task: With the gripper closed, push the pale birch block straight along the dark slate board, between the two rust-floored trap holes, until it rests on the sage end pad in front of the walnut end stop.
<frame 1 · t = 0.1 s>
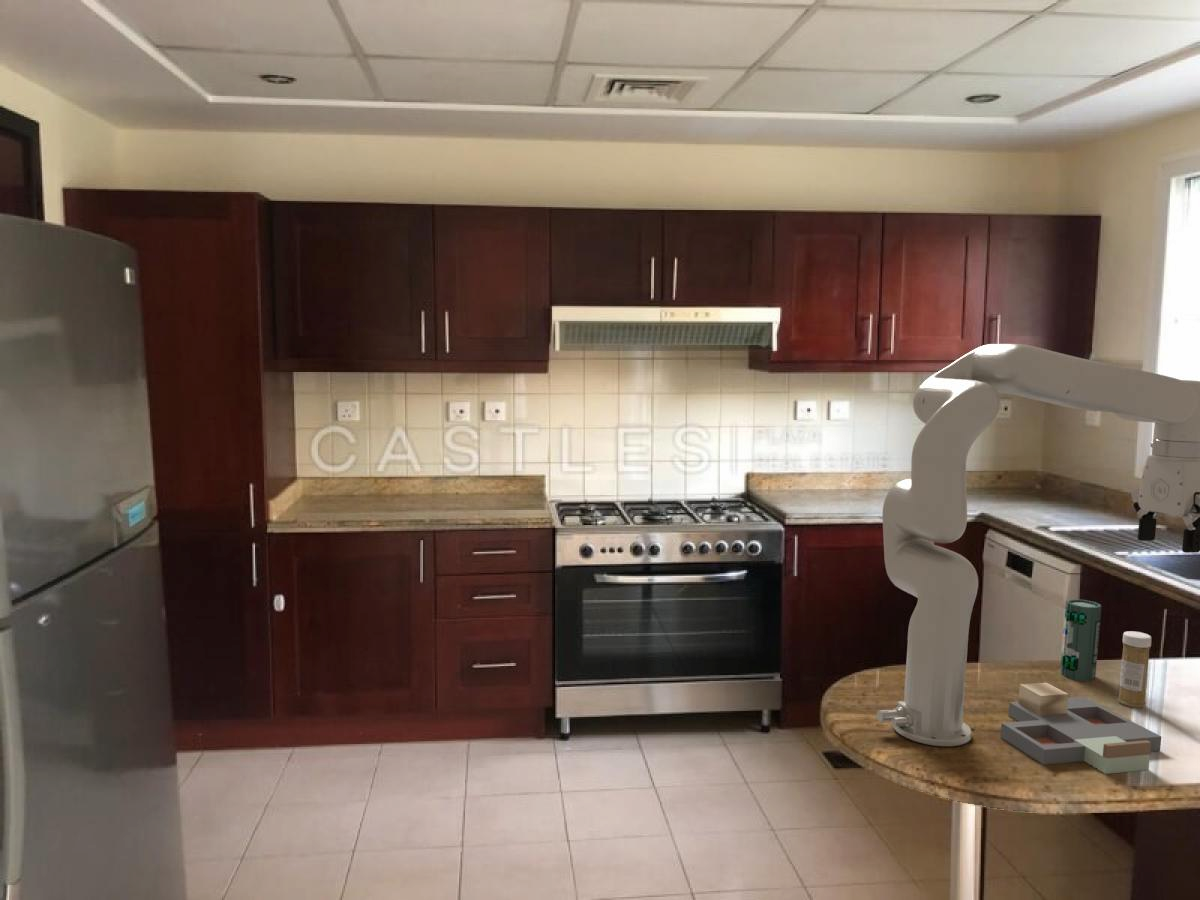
hand: (1167, 546, 164), 31 cm above the countertop, tool pointing down, fingers open, 9 cm apart
birch block: (1042, 708, 162), point 2 cm above the countertop, touching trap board
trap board: (1073, 740, 155), on the countertop
sprinkles bottle: (1131, 704, 172), on the countertop
can: (1077, 676, 187), on the countertop
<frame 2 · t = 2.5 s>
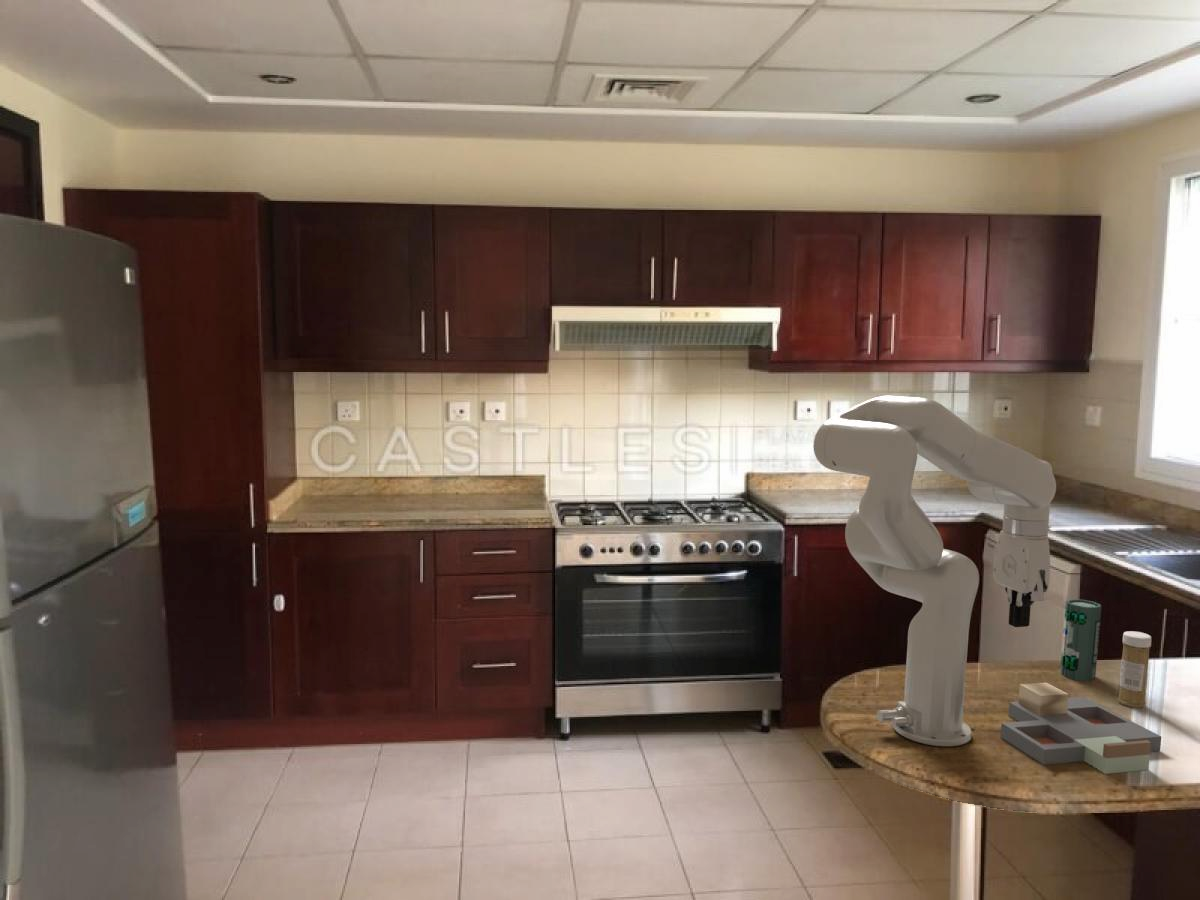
hand: (1018, 625, 169), 15 cm above the countertop, tool pointing down, fingers closed
nothing on the countertop moved.
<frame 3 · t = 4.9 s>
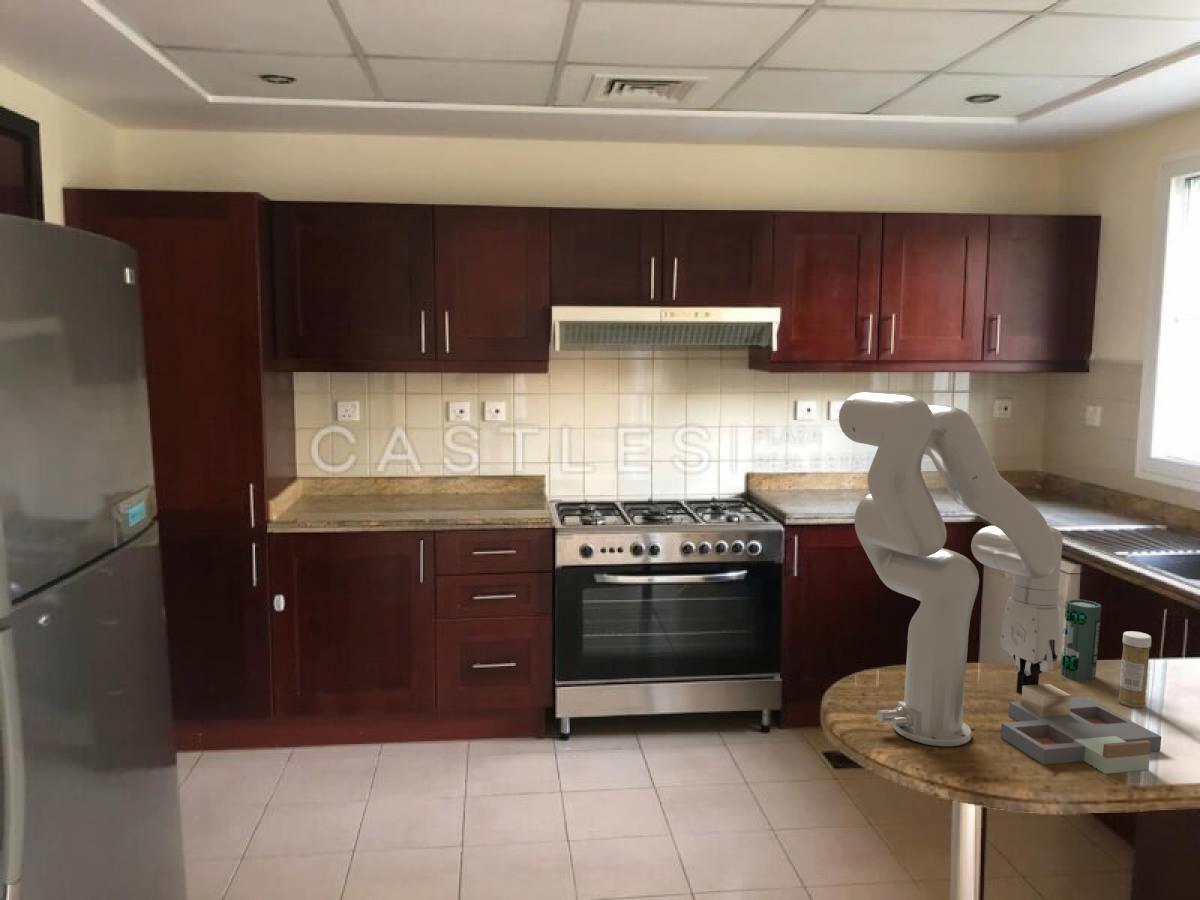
hand: (1026, 693, 166), 4 cm above the countertop, tool pointing down, fingers closed
birch block: (1045, 709, 162), point 2 cm above the countertop, touching gripper, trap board
everything else where it was.
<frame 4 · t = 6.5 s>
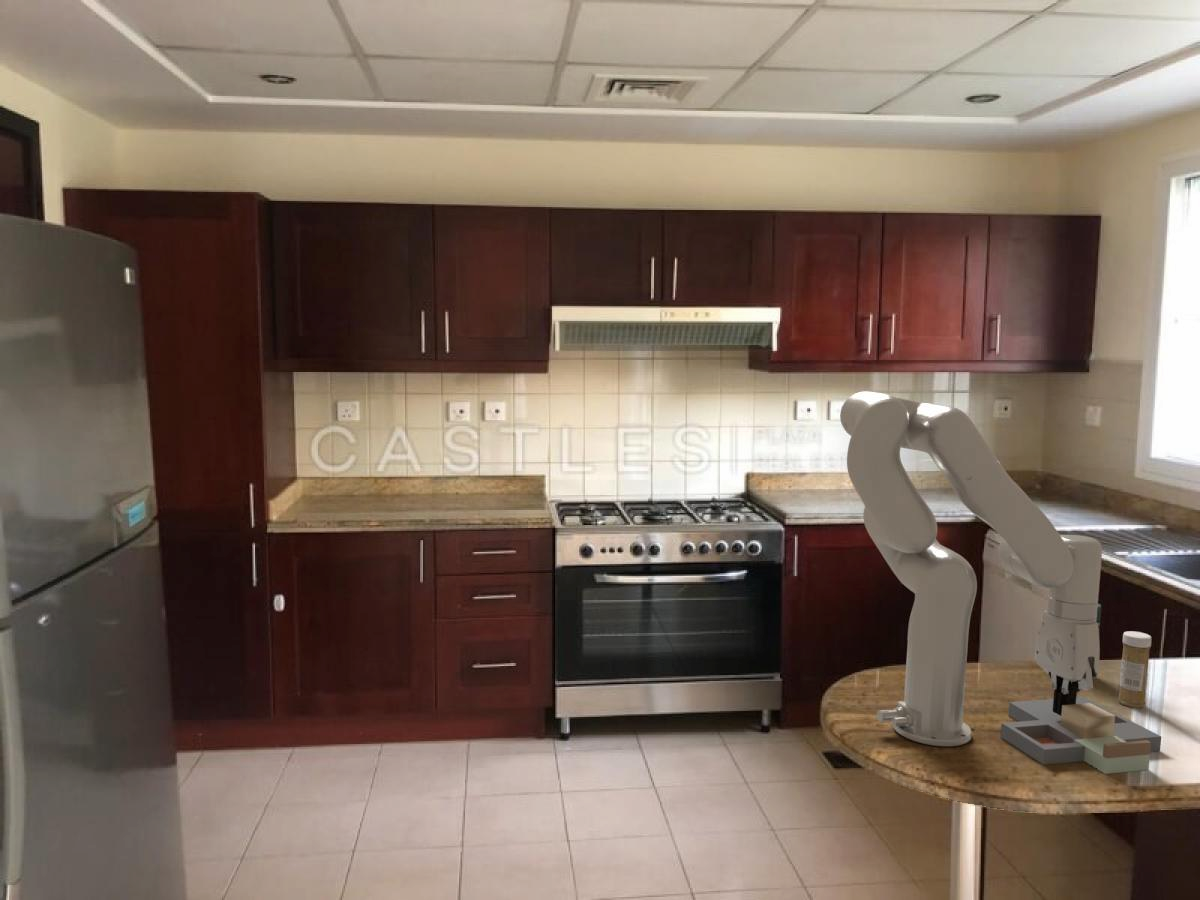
hand: (1063, 713, 157), 4 cm above the countertop, tool pointing down, fingers closed
birch block: (1086, 730, 153), point 2 cm above the countertop, touching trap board
everything else where it was.
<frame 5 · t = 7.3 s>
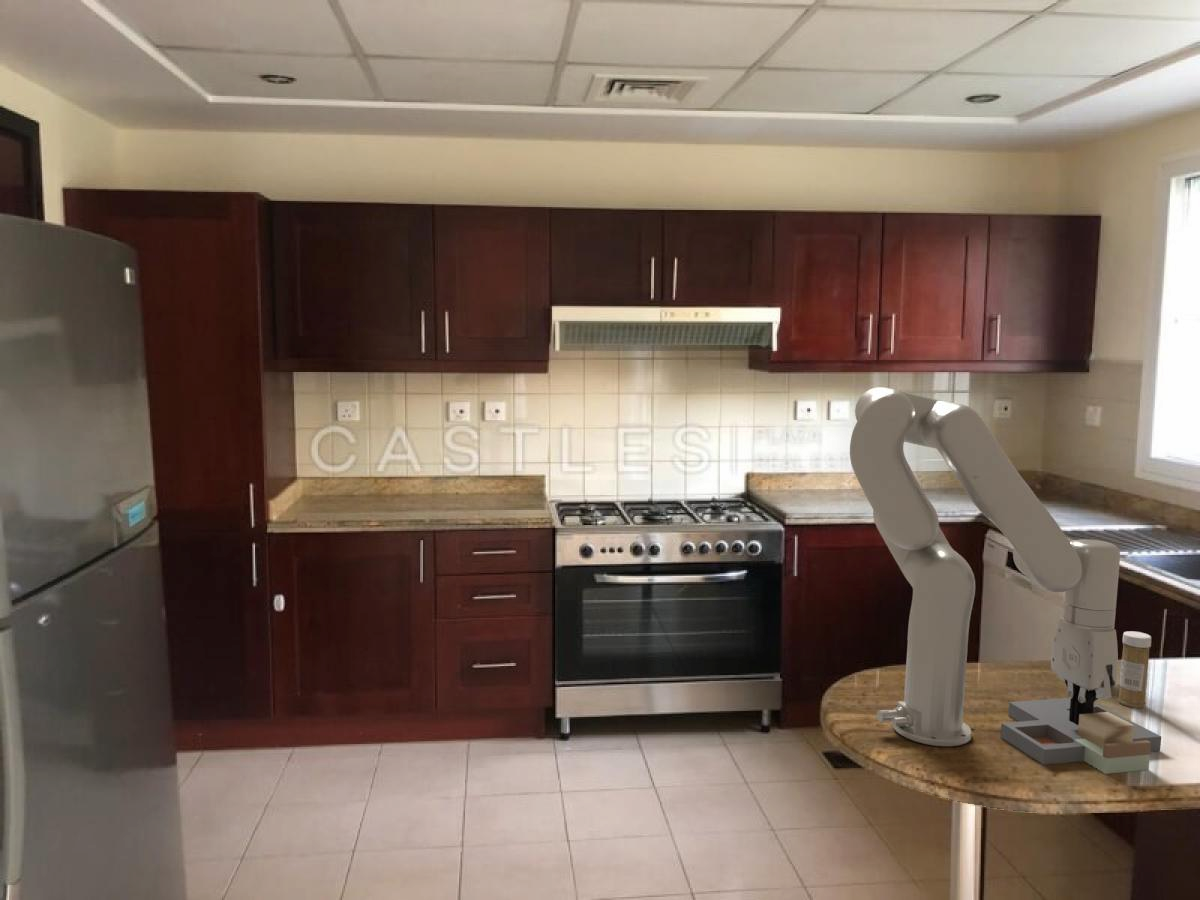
hand: (1080, 722, 154), 4 cm above the countertop, tool pointing down, fingers closed
birch block: (1104, 740, 149), point 2 cm above the countertop, touching gripper, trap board
everything else where it was.
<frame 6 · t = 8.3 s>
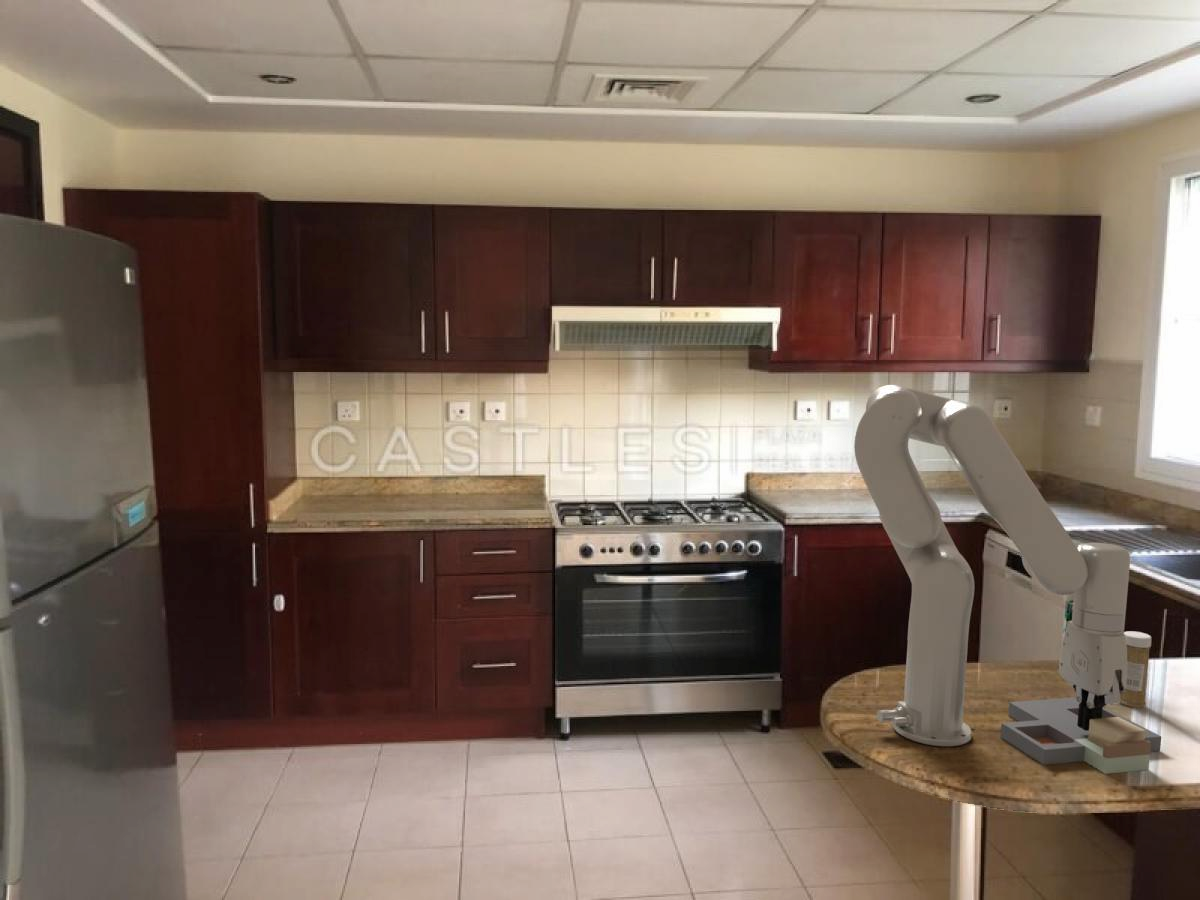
hand: (1088, 727, 152), 4 cm above the countertop, tool pointing down, fingers closed
birch block: (1115, 745, 147), point 2 cm above the countertop, touching gripper, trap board
everything else where it was.
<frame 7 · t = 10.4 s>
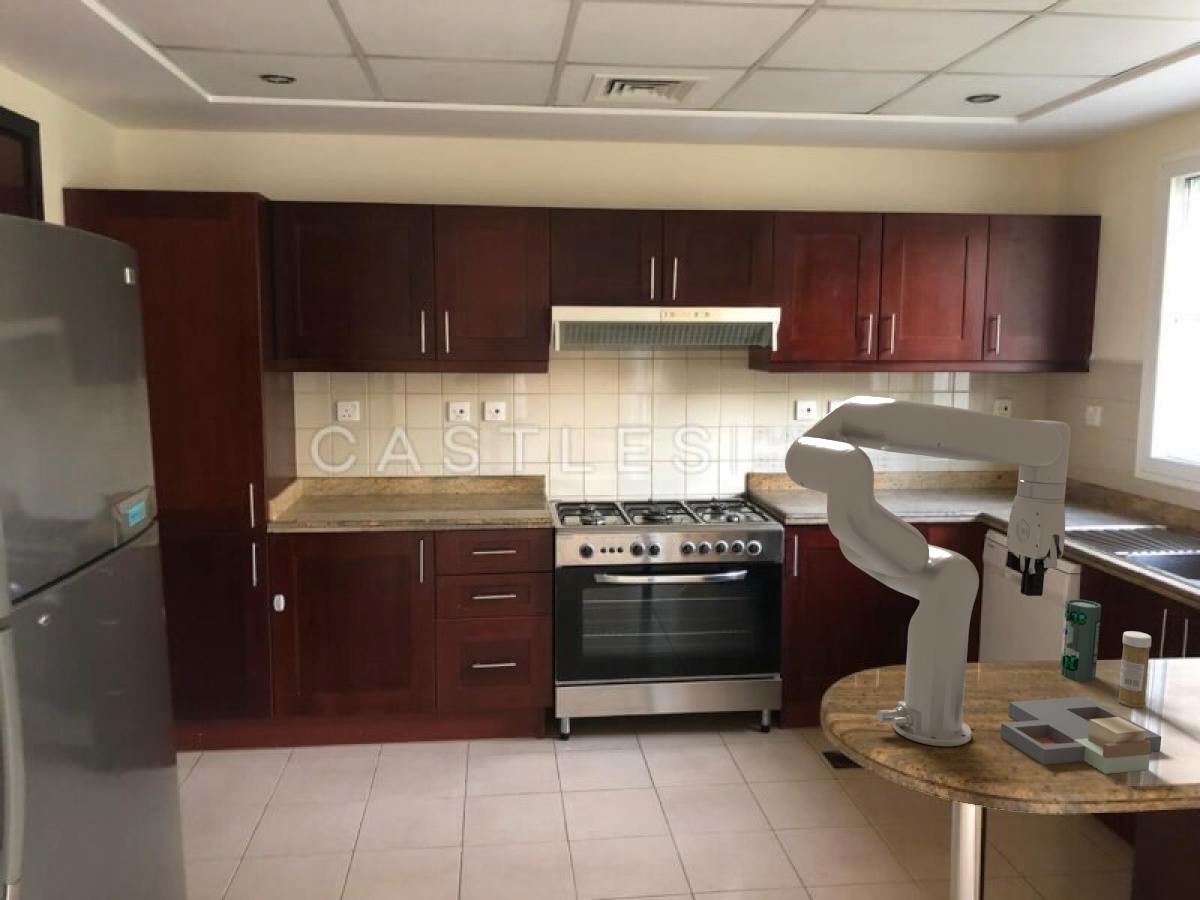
hand: (1031, 594, 162), 22 cm above the countertop, tool pointing down, fingers closed
birch block: (1115, 745, 147), point 2 cm above the countertop, touching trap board
everything else where it was.
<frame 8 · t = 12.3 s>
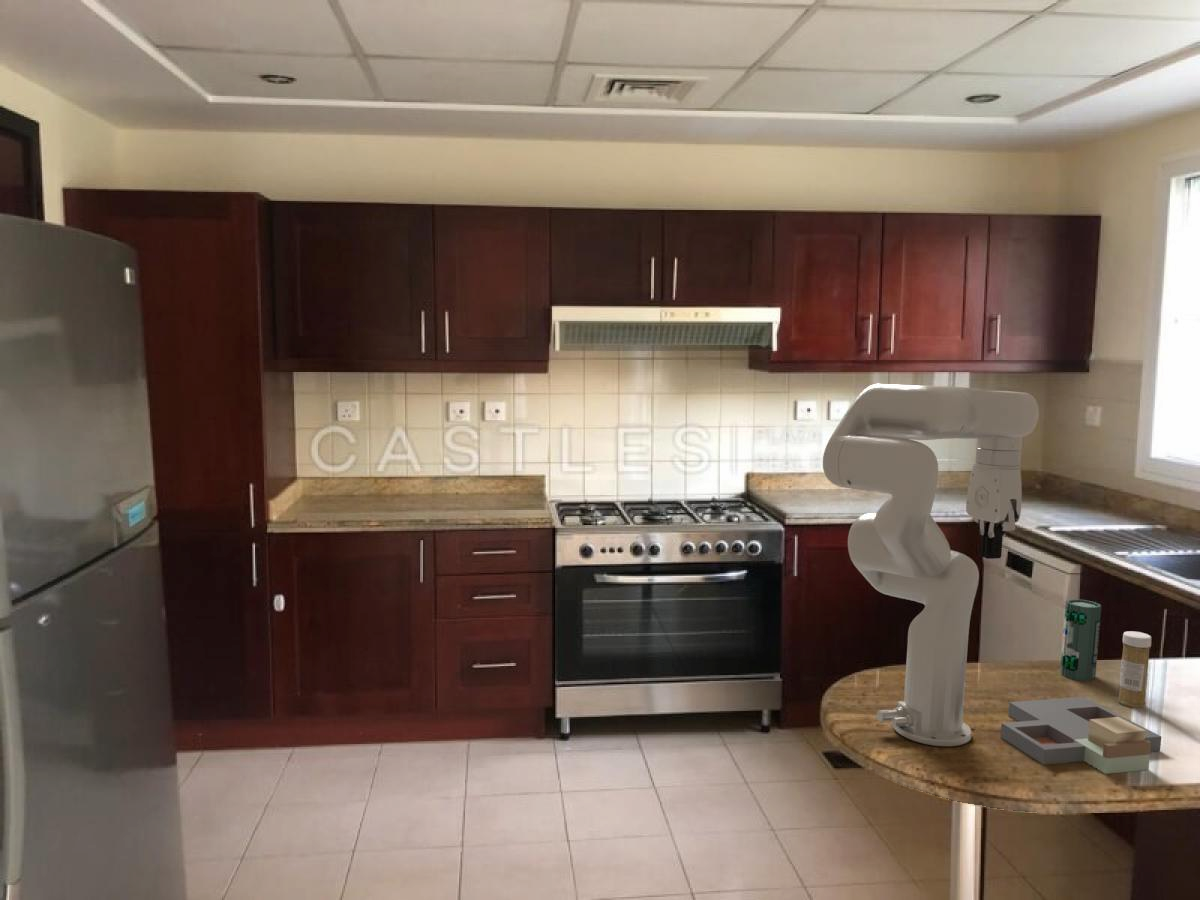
hand: (990, 557, 170), 27 cm above the countertop, tool pointing down, fingers closed
nothing on the countertop moved.
at the end: birch block 1.1 cm from the target spot, point 2.5 cm above the countertop; birch block tilted 0°; birch block moved 15.8 cm from its start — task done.
